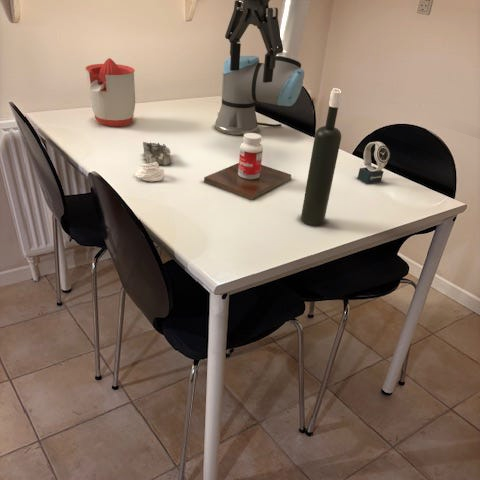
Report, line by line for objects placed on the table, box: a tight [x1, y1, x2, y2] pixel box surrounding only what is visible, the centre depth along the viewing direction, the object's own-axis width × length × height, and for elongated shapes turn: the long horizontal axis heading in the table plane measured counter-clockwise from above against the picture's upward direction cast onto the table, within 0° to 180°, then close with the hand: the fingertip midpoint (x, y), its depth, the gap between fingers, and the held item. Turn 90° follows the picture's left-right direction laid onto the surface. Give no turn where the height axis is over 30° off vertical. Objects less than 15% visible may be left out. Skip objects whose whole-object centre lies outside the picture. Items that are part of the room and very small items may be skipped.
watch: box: [356, 141, 391, 185], centre depth 139 cm, size 6×8×11 cm
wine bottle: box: [300, 87, 343, 227], centre depth 108 cm, size 6×6×30 cm
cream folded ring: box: [134, 162, 165, 183], centre depth 129 cm, size 8×7×5 cm
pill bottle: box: [238, 132, 264, 180], centre depth 130 cm, size 6×6×11 cm
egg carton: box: [142, 141, 172, 166], centre depth 141 cm, size 11×8×4 cm
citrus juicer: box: [85, 57, 136, 128], centre depth 160 cm, size 16×17×20 cm
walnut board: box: [203, 162, 292, 201], centre depth 134 cm, size 20×16×2 cm
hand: (250, 76), depth 129 cm, fingers open, 13 cm apart
